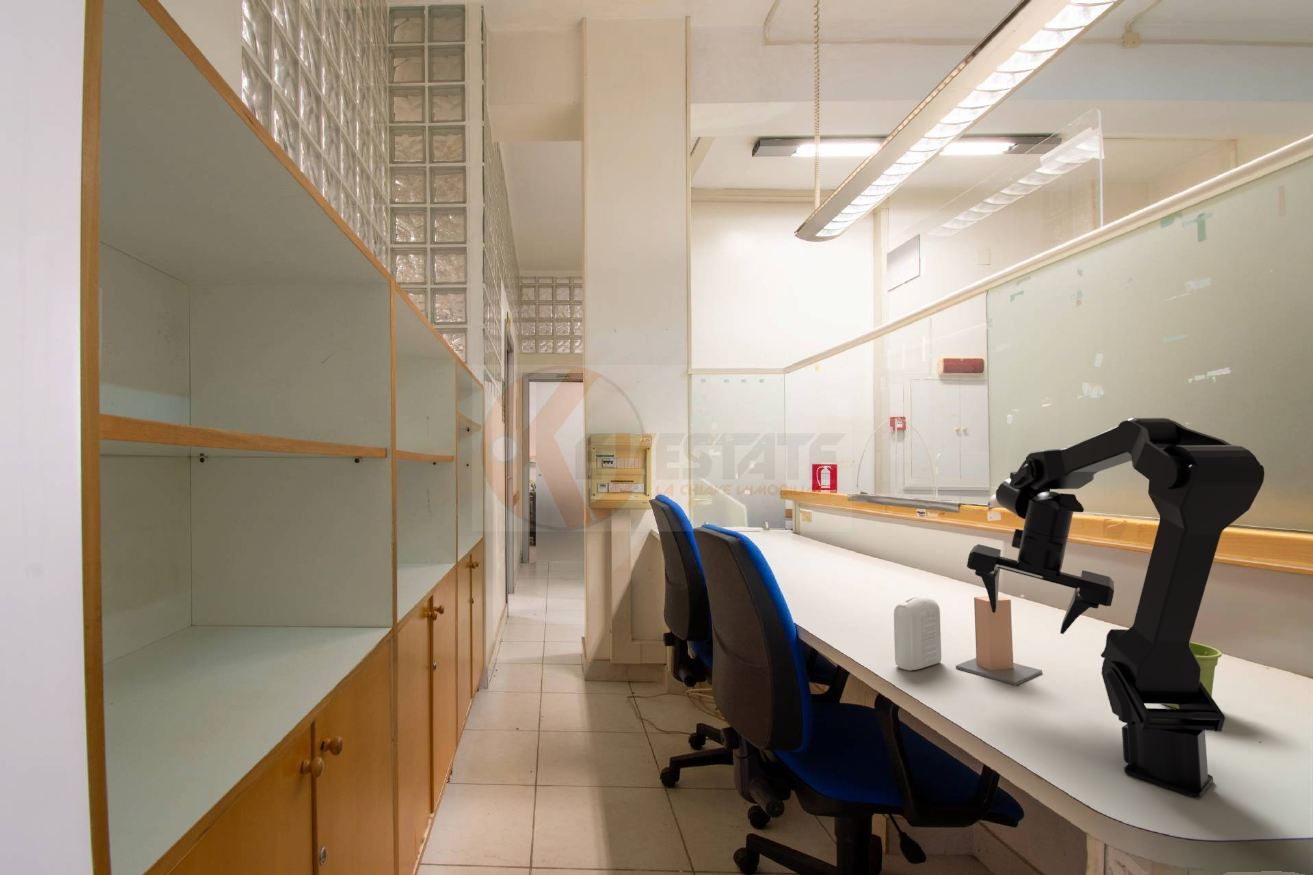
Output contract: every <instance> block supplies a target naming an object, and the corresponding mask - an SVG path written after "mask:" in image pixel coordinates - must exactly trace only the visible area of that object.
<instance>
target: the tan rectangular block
mask: <svg viewBox="0 0 1313 875" xmlns="http://www.w3.org/2000/svg"><path fill="white" fill-rule="evenodd" d="M973 600H974V601H973V602H974V604H973V605H974V627H975V628H974V629H975V634H974V635H975V658H976V662H977V665H979V666H982V667H984V668H986V669H989V670H996V669H1006V668H1013V663H1014V649H1013V646H1014V645H1013V626H1012V625H1013V622H1012V601H1011V599H1009V598H1005V597H1002V596H998V604H997V609H996V612H995V613H993V612H992V608H991V604H990V600H989V596H976V597H973Z"/></svg>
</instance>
